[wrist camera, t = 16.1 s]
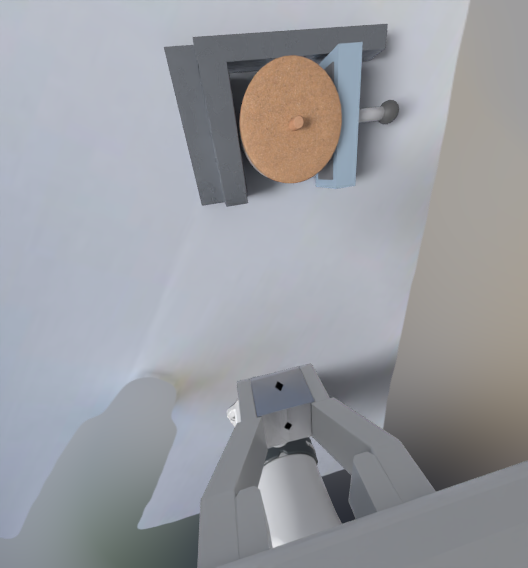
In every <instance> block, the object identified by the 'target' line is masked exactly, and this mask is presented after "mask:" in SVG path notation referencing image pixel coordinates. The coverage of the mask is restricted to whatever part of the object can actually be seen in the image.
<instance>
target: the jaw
mask: <svg viewBox="0 0 528 568" xmlns="http://www.w3.org/2000/svg"><path fill="white" fill-rule="evenodd" d="M362 45H363V42H354V43H342V44H338V45H337V46H336V47H335V48H334V49H333V50H332V51H331V52H330V53H329V54H328V55H327V56H326V57H325V59H324V60H323V61H322V62H321V63H320V64H319V66H321V67H322V68H323V69H324V70H325V71H326V73H327V74H328V75H329V76H330V78H331V80H332V81H333V83H334V85H335V87H336V90H337V92H338V95H339V99H340V104H341V112H342V125H341V132H340V137H339V141H338V144H337V146H336V149H335V151H334V153H333V155H332V157H331V159H330V160H329V161H328V163H327V164H326V165H325V167H324V168H323V169H322V170H321V171H320V172H318V173H317V174H316V187H325V188H334V189H338V188H344V187H350V186H355V182H356V163H357V143H358V124H359V123H362V122H370V121H379V122H380V123H381V124H388V123H391V122H392V121H393V120H394V119H395V118H396V117H397V115H398V112H399V106H398V104H397V102H396V101H394V100H388V101H386V102H384V103H383V104H382V105H381V106H379V107H371V108H362V109H359V104H360V84H361V65H362Z"/></svg>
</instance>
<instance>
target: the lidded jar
mask: <svg viewBox="0 0 528 568" xmlns="http://www.w3.org/2000/svg"><path fill="white" fill-rule="evenodd" d="M341 125H342V112H341V104H340V99H339V95H338V92H337V90H336V87H335V85H334V83H333V81H332V80H331V78H330V76H329V75H328V74H327V73H326V71H325V70H324V69H323V68H322V67H321V66H319V65H318V64H317V63H315V62H314V61H312V60H310V59H308V58H305V57H302V56H296V55H289V56H282V57H279V58H276V59H274V60H272V61H270V62H269V63H267V64H266V65H265V66H263V67H262V68H261V69H260V70H259V71H258V72H257V73H256V75H255V76H254V77H253V79H252V80H251V82H250V84H249V85H248V88H247V90H246V92H245V95H244V97H243V101H242V105H241V111H240V118H239V134H240V141H241V145H242V148H243V151H244V153H245V155H246V157H247V159H248V160H249V162H250V163H251V165H252V166H253V167H254V168H255V169H256V170H257V171H258V172H259V173H261V174H262V175H264V176H265V177H267V178H270V179H272V180H274V181H277V182H282V183H298V182H302V181H305V180H307V179H309V178H311V177H313V176H314V175H316V174H317V173H318V172H320V171H321V170H322V169H323V168H324V167H325V165H326V164H327V163H328V161H329V160H330V159H331V157H332V155H333V153H334V151H335V149H336V146H337V144H338V141H339V137H340V132H341Z"/></svg>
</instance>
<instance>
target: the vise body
mask: <svg viewBox="0 0 528 568" xmlns="http://www.w3.org/2000/svg"><path fill="white" fill-rule="evenodd" d="M386 36H387V24H377V25H363V26H348V27H334V28H319V29H304V30H290V31H275V32H261V33H246V34H232V35H217V36H202V37H193V44H194V45H186V46H172V47H164V50H165V54H166V58H167V62H168V66H169V71H170V75H171V79H172V83H173V87H174V91H175V95H176V100H177V104H178V108H179V112H180V116H181V120H182V125H183V129H184V133H185V137H186V141H187V145H188V149H189V154H190V158H191V162H192V166H193V170H194V174H195V178H196V183H197V187H198V191H199V195H200V199H201V203H202V206H203V205H209V204H215V203H222V202H225V204H226V206H234V205H240V204H246V203H248V200H247V188H246V182H245V175H244V168H243V162H242V155H241V149H240V142H239V135H238V129H237V122H236V115H235V109H234V102H233V96H232V89H231V82H230V76H229V73H235V72H246V71H257V70H260V69H261V68H262V67H263V66H265V65H266V64H267V63H269V62H270V61H272V60H274V59H276V58H279V57H282V56H289V55H296V56H302V57H305V58H308V59H310V60H312V61H314V62H315V63H317V64H318V65H319V64H320V63H321V62H322V61H323V60H324V59H325V57H326V56H327V55H328V54H329V53H330V52H331V51H332V50H333V49H334V48H335V47H336V46H337V45H338V44H342V43H354V42H363V45H362V61H369V60H371V59H372V58H373V57H375V56H376V55H377V54H379V53H380V52H382V51H383V50H384V49H385V48H386Z"/></svg>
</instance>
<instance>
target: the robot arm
mask: <svg viewBox="0 0 528 568" xmlns="http://www.w3.org/2000/svg"><path fill="white" fill-rule="evenodd" d="M250 380H251V381H250ZM237 391H238V400H237V402H236V403H235V404H234V405H233V406H231V407H230V408H229V409H228V410H227V417H228V418H229V420H230V421H231V423H232V424H233V425H234V427H235V428H234V430H233V432H232V434H231V436H230V439H229V441H228V443H227V445H226V447H225V449H224V451H223V454H222V456H221V458H220V460H219V462H218V464H217V466H216V468H215V471H214V473H213V475H212V477H211V479H210V481H209V483H208V486H207V488H206V490H205V492H204V494H203V496H202V498H201V503H200V525H199V545H198V567H197V568H528V460H527V461H525V462H522V463H519V464H516V465H513V466H510V467H507V468H504V469H501V470H498V471H495V472H493V473H490V474H487V475H484V476H481V477H478V478H475V479H472V480H469V481H466V482H463V483H460V484H458V485H455V486H452V487H449V488H446V489H443V490H440V491H437V492H436V491H435V490H434V488H433V487H432V486H431V484H430V483H429V481H428V480H427V478H426V477H425V476H424V474H423V473H422V471H421V470H420V468H419V467H418V466H417V464H416V463H415V461H414V460H413V459H412V457H411V456H410V454H409V453H408V451H407V450H406V449H405V447H404V446H403V444H402V443H401V442H400V440H398V439H397V438H395V437H394V436H392V435H391V434H389V433H388V432H386V431H384V430H383V429H382V428H380V427H378V426H377V425H375V424H374V423H372V422H371V421H369V420H368V419H366V418H365V417H363V416H362V415H360V414H359V413H357V412H356V411H354V410H352V409H351V408H349V407H348V406H346V405H345V404H343V403H342V402H340V401H339V400H337V399H336V398H334V397H333V398H330V397H329V395H328V394H327V392H326V390H325V388H324V386H323V384H322V382H321V380H320V378H319V377H318V375H317V373H316V371H315V369H314V367H313V365H312V364H311V363H310V364H306V365H302V366H299V367H298V366H297V367H294V368H290V369H286V370H282V371H278V372H274V373H271V374H267V375H262V376H257V377H253V378H249V379H244V380H240V381H237ZM310 436H312V437H313V438H314V439H315V440H316V441H317V442H318V443H319V444H320V445H321V446H322V447H323V448H324V449H325V450H326V451H327V452H328V453H329V454H330V455H331V456H332V457H333V458H334V459H335V460H336V461H337V462H338V463H339V464H340V465H341V466H342V467H343V468H344V469H345V470H347V472H349V473H350V474H351V475H352V477H351V485H350V493H349V503H350V506H351V508H352V510H353V513H354V515H355V518H356V519H355V520H353V521H350V522H347V523H344V524H342V523H341V521H340V520H339V518H338V516H337V514H336V512H335V509H334V507H333V505H332V502H331V500H330V498H329V496H328V493H327V490H326V488H325V486H324V483H323V480H322V478H321V475H320V472H319V470H318V467H317V463H318V460H317V457H316V453H315V449H314V447H313V445H312V443H311V440H310V438H309V437H310Z"/></svg>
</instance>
